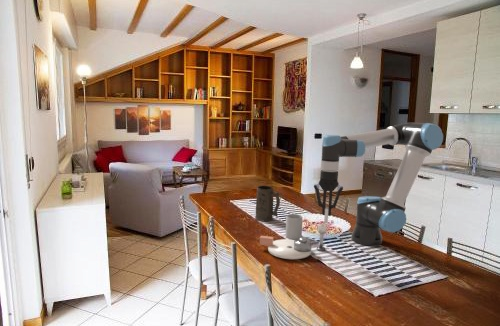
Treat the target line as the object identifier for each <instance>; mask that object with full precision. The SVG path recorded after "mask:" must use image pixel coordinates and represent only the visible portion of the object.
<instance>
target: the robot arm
mask: <svg viewBox="0 0 500 326" xmlns="http://www.w3.org/2000/svg"><path fill="white" fill-rule="evenodd" d="M443 141H444V133H443V132H442V129H441V127H440V126H439V125H437V124H435V123H430V122H412V121H411V122H406V123H405V122H404V123H400V124H399V123H398V124H395V125H391V126H388V127H386V128H385V129H378V130H373V131H367V132H362V133H354V134H349V135H344V136H341V135H337V134H325V135H323V137H322V142H321V143H322V144H321V146H322V147H321V162H320V169H321V170H320V174H319V175H320V177H319V181H318V182H317V183H316V184H315V183H314V185H313V188H314V190H315V194H316V199H317V205H318V207H321V208H322V209H321V210H322V211H321V214H322V216H323V219H324V220H323V223H324V224H328V222H329V217H330V216H331V215H332V209H335V208H336V206H337V204H338V200H339V198H340V196H341V195H340V194H341V192H342V191H343V190H344V186H341V185H340V183H339V181H338V180H339V179H338V178H339V166H340V165H339V164H340V158H351V157H352V158H358V157H363V156H364V154H365V152H366V149H368V148H374V147H379V146H380V147H381V146H385V145H390V146H397V145H398V146H404V147H405V149H406V151H405V152H404V153H405V154H404V156H403V157H402V160H401V162H400V164H399V166H398V169H397V171H396V173H395V175H394V177H393V179H392V182H391V184H390V186H389V188H388V190H387V193H386V195H385V196H382V197H381V196H371V195H370V196H368V195H367V196H359V197H358V198H357V202H356V205H357V206H356V219H355V226H354V227H353V230H352V232H351V237H350V238H351V241H353V242H354V243H356V244H360V245H362V246H363V245H364V246H369V247H370V246H372V247H373V246H375V247H376V246H379V245H382V244H383V236H382V231H381V230H383V231H385V232H388V233H396V232H399V231H400V230H402V229H403V228H404V226H405V225H406V222H407V215H406V213H405V211H406V209H407V208H406V206H405V203H406V201H407V198H408V196H409V193H411V192H410V191H411V189H412V187H413V185H414V182H415V180H416V178H417V176H418V174H419V172H420V169H421V168H422V165H423V163H424V161H425V160H426V159H425V158H427V157H429V156H431V154H432V152H433V150H437V149H438V148H440V147H441V146H442V145H443V144H442V143H443ZM336 188H337V189H336ZM320 189H322V191H323V195H322V199H321V193H320ZM335 189H336V190H337V192H336V194H335V197H334V200H333V192H335ZM327 192H329V193H328V194H329V195H328V207H327V206H326V205H327ZM332 203H333V204H332Z"/></svg>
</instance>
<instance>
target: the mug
mask: <svg viewBox="0 0 500 326" xmlns="http://www.w3.org/2000/svg"><path fill="white" fill-rule="evenodd" d="M284 236H285V237H286V238H287V239H290V240H295V239H299V238H300V237H303V216H302V215H301V214H296V213H289V214H287V215H286V217H285V235H284Z"/></svg>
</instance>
